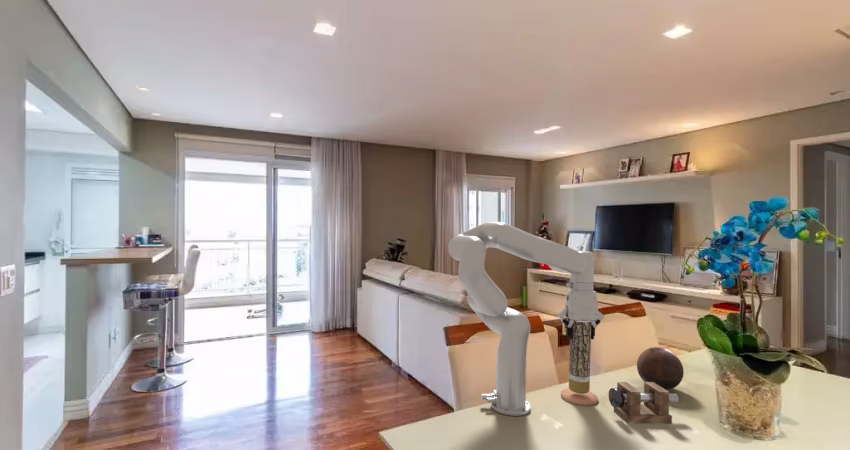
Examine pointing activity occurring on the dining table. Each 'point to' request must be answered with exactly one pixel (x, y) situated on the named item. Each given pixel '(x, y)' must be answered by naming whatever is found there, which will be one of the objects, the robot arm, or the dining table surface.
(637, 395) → the bearing housing
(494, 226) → the robot arm
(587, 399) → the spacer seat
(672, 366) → the wooden sphere
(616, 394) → the shaft
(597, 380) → the dining table surface
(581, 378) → the paper tube
